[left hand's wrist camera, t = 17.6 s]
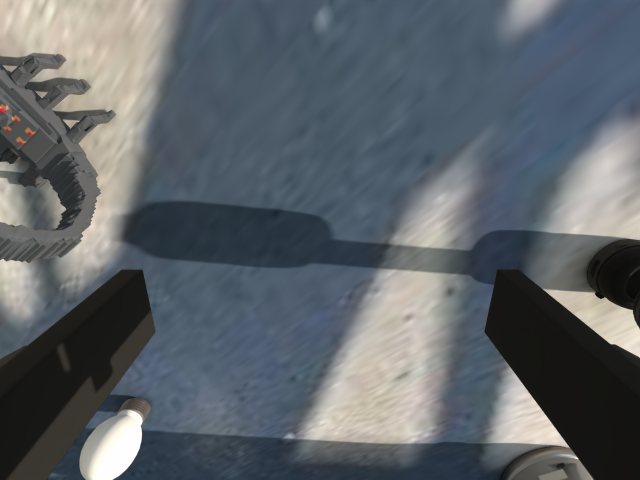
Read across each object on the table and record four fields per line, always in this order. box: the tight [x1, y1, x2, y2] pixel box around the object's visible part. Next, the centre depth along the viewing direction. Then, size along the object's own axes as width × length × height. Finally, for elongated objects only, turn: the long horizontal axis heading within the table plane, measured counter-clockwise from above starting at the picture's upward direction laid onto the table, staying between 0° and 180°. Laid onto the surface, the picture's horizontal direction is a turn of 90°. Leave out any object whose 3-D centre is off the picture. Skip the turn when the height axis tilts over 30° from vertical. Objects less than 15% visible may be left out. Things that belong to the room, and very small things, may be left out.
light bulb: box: [80, 398, 150, 480], centre depth 47 cm, size 7×7×11 cm
